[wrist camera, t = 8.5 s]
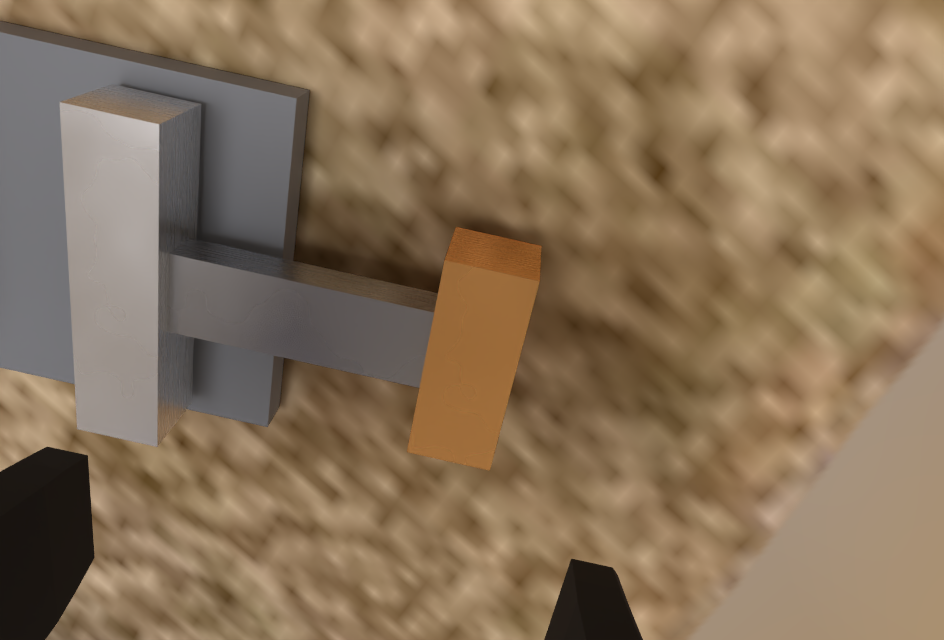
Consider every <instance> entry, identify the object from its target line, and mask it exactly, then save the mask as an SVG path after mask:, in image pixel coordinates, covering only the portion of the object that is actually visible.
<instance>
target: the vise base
mask: <svg viewBox="0 0 944 640" xmlns="http://www.w3.org/2000/svg"><path fill="white" fill-rule="evenodd" d="M111 84H114V85H119V86H123V87H127V88H132V89H136V90H141V91H145V92H150V93H154V94H159V95H163V96H168V97H172V98H177V99H181V100H186V101H190V102H195V103H199V104H201V131H200V163H199V195H198V228H197V240H202V241H206V242H211V243H215V244H220V245H224V246H229V247H233V248H238V249H242V250H247V251H251V252H256V253H260V254H265V255H269V256H274V257H278V258H283V259H287V260H292V261H293V259H294V249H295V238H296V228H297V218H298V207H299V197H300V186H301V176H302V165H303V155H304V145H305V134H306V124H307V113H308V103H309V92H310V90H307V89H303V88H298V87H294V86H289V85H285V84H280V83H276V82H271V81H267V80H262V79H258V78H253V77H249V76H244V75H240V74H235V73H231V72H226V71H222V70H218V69H213V68H209V67H204V66H200V65H195V64H191V63H186V62H182V61H177V60H173V59H168V58H164V57H159V56H155V55H150V54H146V53H141V52H137V51H133V50H128V49H124V48H119V47H115V46H110V45H106V44H101V43H97V42H92V41H88V40H83V39H79V38H74V37H70V36H65V35H61V34H56V33H52V32H48V31H43V30H39V29H34V28H30V27H25V26H21V25H16V24H12V23H7V22H3V21H0V368H5V369H9V370H14V371H18V372H23V373H27V374H32V375H36V376H41V377H45V378H50V379H54V380H59V381H63V382H68V383H72V384H75V378H74V359H73V341H72V323H71V304H70V286H69V268H68V249H67V231H66V212H65V194H64V176H63V157H62V139H61V120H60V102H61V101H64V100H67V99H70V98H73V97H76V96H79V95H82V94H85V93H88V92H91V91H93V90H96V89H99V88H102V87H105V86H108V85H111ZM283 364H284V358H283V357H279V356H274V355H270V354H265V353H261V352H256V351H252V350H247V349H243V348H238V347H234V346H229V345H225V344H220V343H216V342H211V341H207V340H203V339H198V338H194V356H193V388H192V403H191V404H190V405H189V407H188V408H187V409H189V410H193V411H198V412H202V413H207V414H211V415H216V416H220V417H225V418H229V419H234V420H238V421H243V422H247V423H252V424H256V425H261V426H265V427H268V425H269V424H270V422H271V420H272V419H273V417H274V415H275V413H276V412H277V410H278V408H279V405H280V395H281V384H282V374H283Z"/></svg>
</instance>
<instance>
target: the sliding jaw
mask: <svg viewBox="0 0 944 640" xmlns="http://www.w3.org/2000/svg"><path fill="white" fill-rule="evenodd" d="M60 120H61V139H62V157H63V176H64V194H65V212H66V231H67V249H68V268H69V286H70V304H71V323H72V341H73V359H74V378H75V396H76V415H77V429H79V430H84V431H88V432H93V433H97V434H102V435H106V436H111V437H115V438H120V439H124V440H129V441H133V442H138V443H142V444H147V445H151V446H156V447H158V445H159V444H160V443H161V442H162V440H163V439H164V438H165V436H166V435H167V434H168V432H169V431H170V430H171V429H172V427H173V426H174V425H175V423H176V422H177V421H178V420H179V418H180V417H181V416H182V414H183V413H184V412H185V411H186V409H187V408H188V407H189V405H190V404H191V403H192V388H193V356H194V338H198V339H203V340H207V341H211V342H216V343H220V344H225V345H229V346H234V347H238V348H243V349H247V350H252V351H256V352H261V353H265V354H270V355H274V356H279V357H283V358H288V359H292V360H297V361H301V362H306V363H310V364H315V365H319V366H324V367H328V368H333V369H337V370H341V371H346V372H350V373H355V374H359V375H364V376H368V377H373V378H377V379H382V380H386V381H391V382H395V383H400V384H404V385H409V386H413V387H418V388H419V393H418V398H417V403H416V408H415V413H414V418H413V423H412V428H411V433H410V438H409V443H408V449H407V452H409V453H413V454H418V455H422V456H427V457H431V458H436V459H440V460H445V461H449V462H454V463H458V464H463V465H467V466H472V467H476V468H481V469H485V470H490V468H491V464H492V460H493V457H494V453H495V449H496V445H497V441H498V438H499V434H500V430H501V426H502V423H503V419H504V415H505V411H506V407H507V404H508V400H509V396H510V392H511V388H512V385H513V381H514V377H515V373H516V369H517V366H518V362H519V358H520V354H521V351H522V347H523V343H524V339H525V335H526V332H527V328H528V324H529V320H530V316H531V313H532V309H533V305H534V301H535V298H536V294H537V290H538V286H539V282H540V266H541V247H542V246H540V245H535V244H531V243H526V242H522V241H517V240H513V239H508V238H504V237H499V236H495V235H490V234H486V233H481V232H477V231H472V230H468V229H463V228H459V227H456V228H455V231H454V234H453V237H452V240H451V243H450V246H449V249H448V252H447V255H446V257H445V260H444V266H443V271H442V276H441V281H440V286H439V291H438V293H435V292H430V291H426V290H421V289H417V288H412V287H408V286H403V285H399V284H395V283H390V282H386V281H381V280H377V279H372V278H368V277H363V276H359V275H354V274H350V273H345V272H341V271H336V270H332V269H327V268H323V267H318V266H314V265H309V264H305V263H300V262H296V261H292V260H287V259H283V258H278V257H274V256H269V255H265V254H260V253H256V252H251V251H247V250H242V249H238V248H233V247H229V246H224V245H220V244H215V243H211V242H206V241H202V240H197V228H198V195H199V163H200V131H201V104H199V103H195V102H190V101H186V100H181V99H177V98H172V97H168V96H163V95H159V94H154V93H150V92H145V91H141V90H136V89H132V88H127V87H123V86H119V85H114V84H111V85H108V86H105V87H102V88H99V89H96V90H93V91H91V92H88V93H85V94H82V95H79V96H76V97H73V98H70V99H67V100H64V101H61V102H60Z"/></svg>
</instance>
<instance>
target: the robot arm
mask: <svg viewBox="0 0 944 640" xmlns="http://www.w3.org/2000/svg"><path fill="white" fill-rule="evenodd" d="M93 559H94V544H93V529H92V513H91V498H90V483H89V468H88V455H83V454H79V453H74V452H69V451H65V450H60V449H55V448H51V447H46V448H44V449H42V450H40V451H38V452H36V453H34V454H32V455H30V456H28V457H27V458H25V459H23V460H21V461H19V462H17V463H15V464H14V465H12V466H10V467H8V468H6V469H5V470H3V471H1V472H0V640H45V639H46V638H47V636H48V635H49V634H50V632H51V631H52V629H53V628H54V627H55V625H56V624H57V622H58V621H59V619H60V617H61V616H62V614H63V612H64V611H65V609H66V607H67V605H68V604H69V602H70V600H71V599H72V597H73V595H74V594H75V592H76V590H77V588H78V586H79V585H80V583H81V581H82V579H83V577H84V576H85V574H86V572H87V570H88V568H89V566H90V565H91V563H92V561H93ZM544 640H643V639H642V636H641V634H640V632H639V629H638V627H637V624H636V622H635V620H634V617H633V615H632V612H631V609H630V607H629V604H628V602H627V599H626V596H625V594H624V591H623V589H622V586H621V583H620V580H619V577H618V575H617V573H616V572H615V570H614V569H613V568H612V567H607V566H603V565H598V564H593V563H589V562H584V561H579V560H575V559H571V561H570V564H569V567H568V570H567V573H566V576H565V579H564V582H563V585H562V588H561V591H560V594H559V597H558V600H557V603H556V606H555V609H554V612H553V615H552V618H551V621H550V624H549V627H548V630H547V633H546V636H545V639H544Z"/></svg>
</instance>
